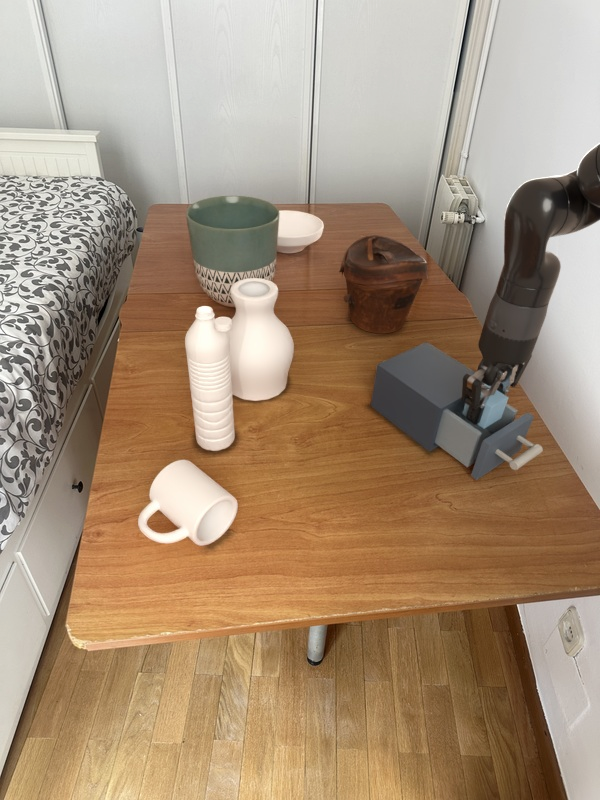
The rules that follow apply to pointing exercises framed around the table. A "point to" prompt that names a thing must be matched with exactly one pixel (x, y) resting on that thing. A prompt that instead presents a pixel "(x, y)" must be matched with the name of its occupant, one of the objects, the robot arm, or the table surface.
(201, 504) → the mug
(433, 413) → the cabinet
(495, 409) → the block
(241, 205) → the planter
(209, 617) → the table surface
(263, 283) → the vase
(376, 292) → the case
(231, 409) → the water bottle
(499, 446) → the drawer
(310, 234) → the bowl
